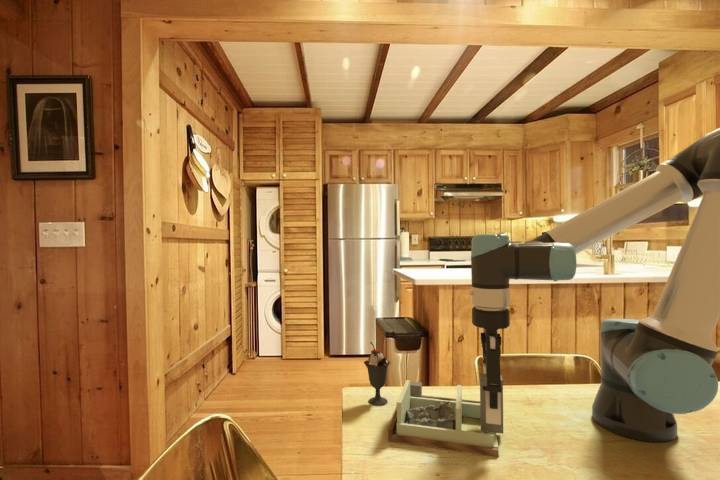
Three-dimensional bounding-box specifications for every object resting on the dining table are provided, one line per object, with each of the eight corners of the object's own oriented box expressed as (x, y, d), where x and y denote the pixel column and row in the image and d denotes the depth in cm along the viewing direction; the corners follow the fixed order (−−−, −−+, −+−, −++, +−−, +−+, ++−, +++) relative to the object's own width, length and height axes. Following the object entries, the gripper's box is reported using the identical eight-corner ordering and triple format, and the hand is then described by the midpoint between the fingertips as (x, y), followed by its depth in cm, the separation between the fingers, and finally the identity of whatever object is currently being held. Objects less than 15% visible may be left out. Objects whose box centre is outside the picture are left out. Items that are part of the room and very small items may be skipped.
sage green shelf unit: (500, 419, 85) (499, 366, 85) (505, 453, 72) (505, 391, 72) (407, 408, 91) (406, 359, 91) (396, 438, 78) (395, 380, 78)
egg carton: (451, 417, 86) (451, 400, 86) (459, 435, 79) (459, 415, 79) (405, 418, 87) (404, 400, 87) (409, 435, 79) (408, 415, 79)
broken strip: (481, 407, 91) (481, 387, 91) (481, 414, 88) (481, 392, 88) (408, 399, 96) (408, 380, 96) (406, 405, 93) (406, 385, 93)
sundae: (366, 395, 99) (365, 339, 99) (391, 396, 99) (390, 339, 98) (363, 407, 93) (362, 346, 93) (390, 408, 92) (389, 347, 92)
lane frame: (492, 407, 92) (491, 397, 92) (498, 456, 71) (498, 444, 71) (405, 398, 98) (404, 388, 98) (388, 441, 77) (388, 429, 77)
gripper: (471, 296, 92) (472, 383, 92) (472, 319, 68) (473, 435, 68) (504, 297, 90) (504, 386, 90) (516, 321, 66) (517, 441, 66)
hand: (491, 407), depth 79 cm, fingers open, 13 cm apart
